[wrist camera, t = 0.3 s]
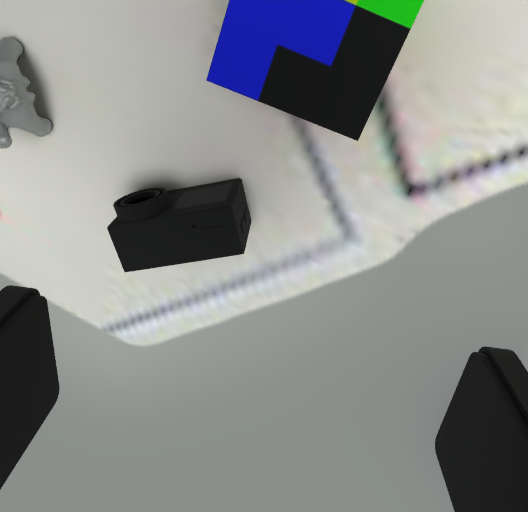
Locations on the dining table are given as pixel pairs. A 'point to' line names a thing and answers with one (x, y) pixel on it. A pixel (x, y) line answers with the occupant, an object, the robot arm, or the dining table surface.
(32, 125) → the elephant statuette
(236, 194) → the digital camera
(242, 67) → the puzzle toy
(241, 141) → the dining table surface
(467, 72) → the dining table surface
